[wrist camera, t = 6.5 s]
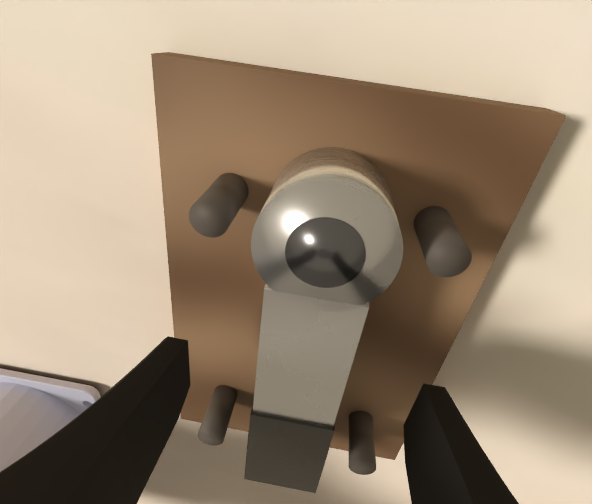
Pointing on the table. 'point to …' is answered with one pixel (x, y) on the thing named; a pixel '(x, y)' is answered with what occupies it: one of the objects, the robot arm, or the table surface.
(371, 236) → the lever door handle
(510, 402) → the table surface
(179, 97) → the tool board
